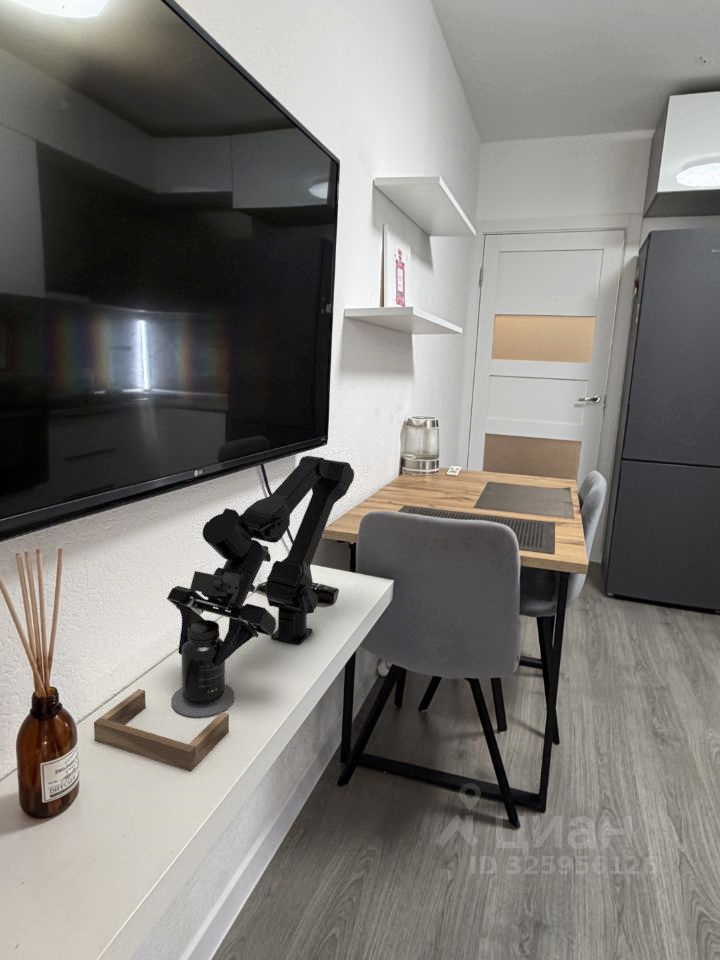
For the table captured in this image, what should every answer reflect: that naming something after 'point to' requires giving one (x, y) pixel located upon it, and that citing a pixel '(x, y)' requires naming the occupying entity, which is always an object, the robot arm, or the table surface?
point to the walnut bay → (152, 745)
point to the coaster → (202, 705)
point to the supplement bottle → (202, 664)
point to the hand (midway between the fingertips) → (198, 659)
